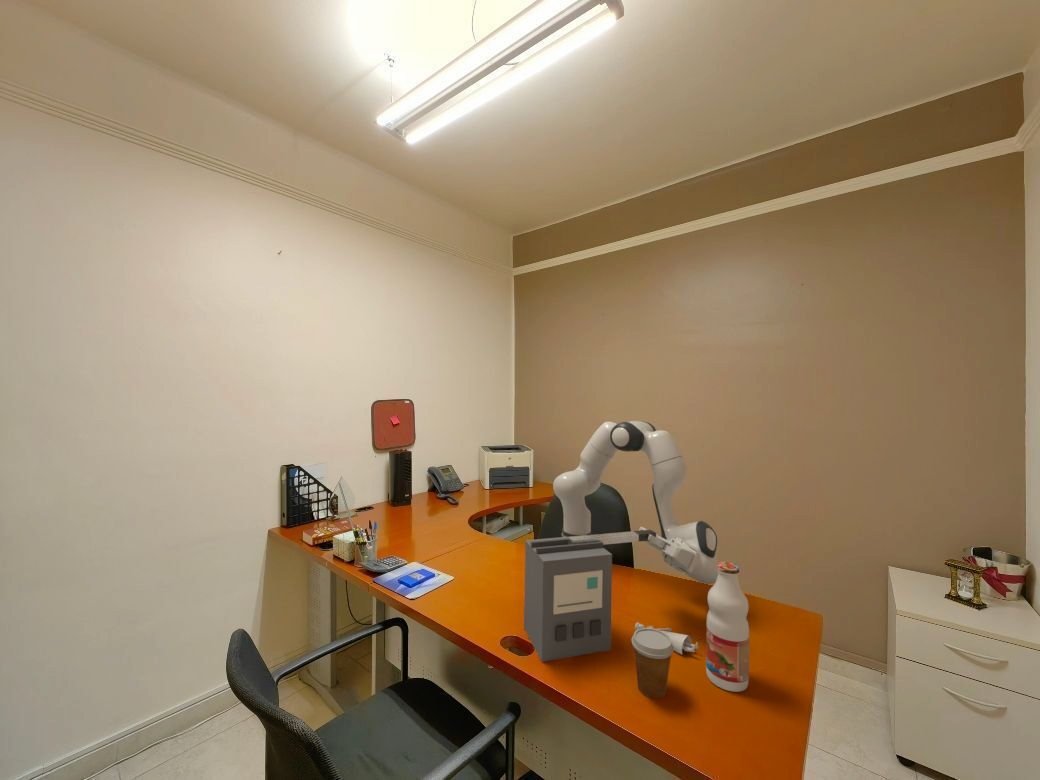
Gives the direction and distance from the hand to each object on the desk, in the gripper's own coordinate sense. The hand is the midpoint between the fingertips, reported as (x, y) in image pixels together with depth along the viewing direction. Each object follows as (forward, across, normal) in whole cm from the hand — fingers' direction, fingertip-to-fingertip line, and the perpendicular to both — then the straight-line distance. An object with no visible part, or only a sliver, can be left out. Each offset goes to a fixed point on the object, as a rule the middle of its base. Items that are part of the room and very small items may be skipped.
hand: (643, 534), depth 124 cm
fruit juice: (-20, +26, +21) cm, 39 cm away
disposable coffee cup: (-3, +24, +31) cm, 39 cm away
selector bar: (+8, 0, +6) cm, 10 cm away
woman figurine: (-15, +9, +24) cm, 30 cm away
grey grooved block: (+8, 0, +37) cm, 37 cm away
